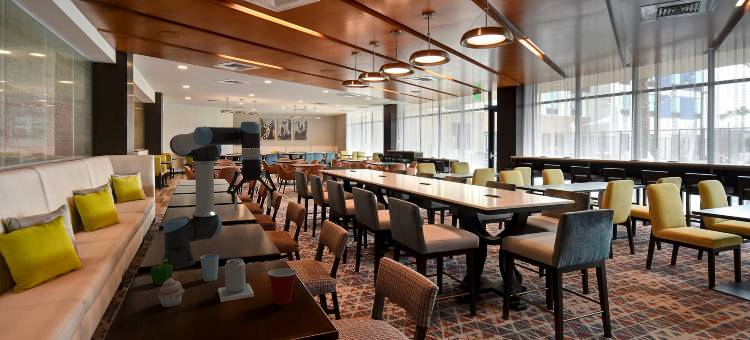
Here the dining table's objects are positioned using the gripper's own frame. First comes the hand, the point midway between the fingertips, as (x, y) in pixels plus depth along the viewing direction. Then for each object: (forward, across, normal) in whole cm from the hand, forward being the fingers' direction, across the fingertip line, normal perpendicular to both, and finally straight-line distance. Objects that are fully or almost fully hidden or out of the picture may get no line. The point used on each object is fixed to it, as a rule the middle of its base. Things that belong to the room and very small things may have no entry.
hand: (252, 209), depth 173 cm
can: (+30, -9, -10) cm, 33 cm away
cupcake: (+32, -32, -10) cm, 46 cm away
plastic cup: (+32, +6, -27) cm, 42 cm away
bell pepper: (+32, -36, +18) cm, 51 cm away
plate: (+32, -9, -10) cm, 34 cm away
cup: (+32, -17, +14) cm, 39 cm away
